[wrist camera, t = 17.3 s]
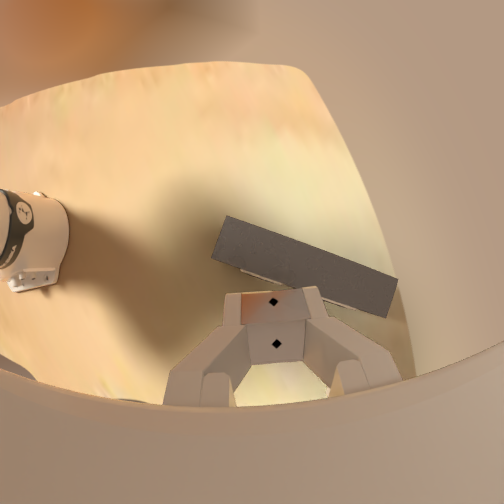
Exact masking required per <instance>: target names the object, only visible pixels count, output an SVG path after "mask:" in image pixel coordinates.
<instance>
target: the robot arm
mask: <svg viewBox="0 0 504 504" xmlns="http://www.w3.org/2000/svg"><path fill="white" fill-rule="evenodd" d="M68 240H69V223H68V218H67V214H66V212H65V210H64V208H63V206H62V205H61V204H60V203H59V202H58V201H57V200H55V199H51V198H46V197H45V196H44V195H43V194H42V193H41V192H34V193H33V194H29V193H24V192H19V191H14V192H11V191H9V190H3V189H0V281H7V283H8V285H9V287H10V289H11V290H12V292H20V291H24V290H29V289H33V288H38V287H42V286H47V285H51V284H55V283H56V282H57V280H58V275H59V267H60V264H61V262H62V260H63V257H64V255H65V252H66V249H67V245H68ZM48 278H49V279H48ZM292 361H303V362H304V363H305V364H306V365H307V366H308V367H309V368H310V369H311V370H312V371H313V372H314V373H315V374H316V375H317V376H318V377H319V378H320V379H321V380H322V381H323V382H324V383H325V384H326V385H327V386H328V387H329V388H330V389H331V390H330V393H329V397H328V398H325V399H318V400H311V401H304V402H296V403H287V404H276V405H263V406H245V407H237V406H236V402H235V397H234V391H235V390H236V388H237V387H238V385H239V384H240V383H241V381H242V380H243V378H244V377H245V375H246V374H247V372H248V371H249V369H250V368H251V365H259V364H269V363H279V362H292ZM0 504H504V341H502V342H501V343H498V344H497V345H494V346H492V347H490V348H488V349H487V350H484V351H482V352H480V353H478V354H475V355H473V356H471V357H469V358H466V359H464V360H462V361H459V362H456V363H454V364H451V365H449V366H446V367H443V368H441V369H438V370H435V371H432V372H429V373H427V374H424V375H420V376H417V377H414V378H411V379H408V380H404V381H403V379H402V377H401V375H400V373H399V371H398V368H397V366H396V364H395V362H394V360H393V358H392V356H391V354H390V352H389V351H388V350H386V349H385V348H383V347H382V346H380V345H378V344H377V343H375V342H374V341H372V340H370V339H369V338H367V337H365V336H364V335H362V334H361V333H359V332H357V331H356V330H354V329H353V328H351V327H349V326H348V325H346V324H345V323H343V322H342V321H340V320H338V319H337V318H335V317H334V316H332V317H329V316H328V313H327V310H326V308H325V305H324V302H323V300H322V297H321V295H320V292H319V290H318V287H316V286H311V287H304V288H298V289H288V290H278V291H258V292H242V293H241V292H239V293H226V295H225V302H224V312H223V323H222V326H217V327H216V328H215V329H214V330H213V331H212V332H211V333H210V334H209V335H208V336H207V337H206V338H205V339H204V340H203V341H202V342H201V343H200V344H199V345H197V346H196V347H195V348H194V349H193V350H192V351H191V352H190V353H189V354H188V355H187V356H186V357H185V358H184V359H183V360H182V361H180V362H179V363H178V364H177V365H176V366H175V367H174V368H173V369H172V370H171V371H170V374H169V378H168V382H167V387H166V391H165V395H164V400H163V405H158V404H148V403H138V402H131V401H123V400H117V399H111V398H105V397H99V396H94V395H89V394H84V393H80V392H75V391H71V390H67V389H63V388H59V387H55V386H52V385H48V384H45V383H41V382H38V381H35V380H32V379H28V378H25V377H22V376H20V375H17V374H14V373H11V372H9V371H6V370H3V369H1V368H0Z"/></svg>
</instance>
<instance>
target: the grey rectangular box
mask: <svg viewBox="0 0 504 504" xmlns="http://www.w3.org/2000/svg"><path fill="white" fill-rule="evenodd" d="M211 258H212V259H215V260H218V261H220V262H223V263H226V264H229V265H231V266H234V267H237V268H240V269H241V270H240V271H242V272H245V273H247V274H248V275H251V276H254V277H257V278H259V279H262V280H265V281H268V282H271V283H276V284H279V285H281V286H282V285H283V284H285V285H288V286H291V287H294V288H297V289H298V288H304V287H311V286H316V287H318V290H319V292H320V295H321V297H322V300H323V301H326V302H329V303H332V304H335V305H338V306H341V307H344V308H345V307H346V308H350V309H353V310H356V309H359V310H362V311H365V312H368V313H371V314H374V315H377V316H381V317H384V318H386V316H387V313H388V310H389V307H390V304H391V301H392V298H393V295H394V292H395V289H396V285H397V282H398V279H396V278H394V277H391V276H389V275H386V274H384V273H381V272H379V271H376V270H374V269H371V268H369V267H366V266H363V265H361V264H358V263H356V262H353V261H350V260H348V259H345V258H343V257H340V256H337V255H335V254H332V253H329V252H327V251H324V250H321V249H319V248H316V247H313V246H311V245H308V244H305V243H303V242H300V241H297V240H294V239H292V238H289V237H286V236H283V235H281V234H278V233H275V232H272V231H269V230H267V229H264V228H261V227H258V226H255V225H252V224H250V223H247V222H244V221H241V220H238V219H235V218H232V217H230V216H226V219H225V221H224V224H223V227H222V230H221V232H220V235H219V238H218V240H217V243H216V246H215V249H214V252H213V254H212V257H211Z"/></svg>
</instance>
